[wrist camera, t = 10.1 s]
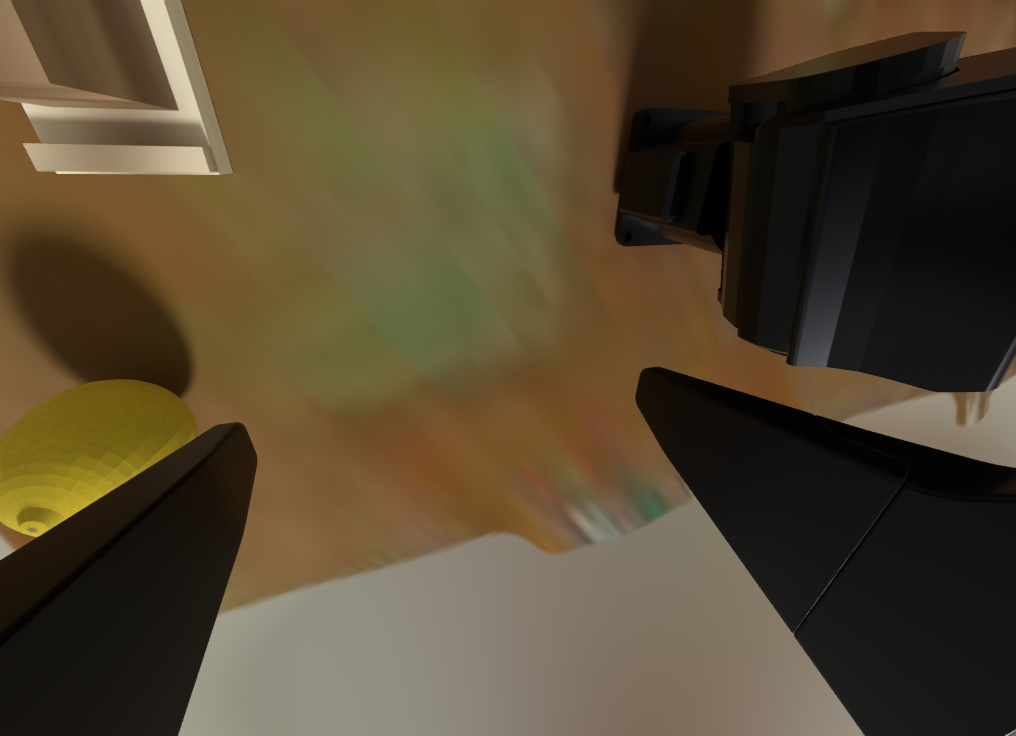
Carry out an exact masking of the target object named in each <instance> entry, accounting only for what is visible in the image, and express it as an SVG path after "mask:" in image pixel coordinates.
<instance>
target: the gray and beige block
mask: <svg viewBox="0 0 1016 736" xmlns="http://www.w3.org/2000/svg"><path fill="white" fill-rule="evenodd" d="M0 100H6V101H13V102H20V103H27V104H34V105H41V106H48V107H64V108H98V109H133V110H167V111H179V109H178V106H177V103H176V101H175V98H174V95H173V92H172V89H171V86H170V83H169V81H168V78H167V75H166V72H165V69H164V66H163V64H162V61H161V58H160V55H159V52H158V49H157V46H156V44H155V41H154V38H153V35H152V32H151V29H150V27H149V24H148V21H147V18H146V15H145V12H144V9H143V7H142V4H141V1H140V0H0Z"/></svg>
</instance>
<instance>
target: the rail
mask: <svg viewBox="0 0 1016 736" xmlns="http://www.w3.org/2000/svg"><path fill="white" fill-rule="evenodd" d="M140 1H141V4H142V7H143V9H144V12H145V15H146V18H147V21H148V24H149V27H150V29H151V32H152V35H153V38H154V41H155V44H156V46H157V49H158V52H159V55H160V58H161V61H162V64H163V66H164V69H165V72H166V75H167V78H168V81H169V83H170V86H171V89H172V92H173V95H174V98H175V101H176V103H177V106H178V109H179V111H167V110H133V109H98V108H64V107H48V106H41V105H34V104H27V103H21V104H22V106H23V108H24V110H25V112H26V114H27V116H28V117H29V119H30V121H31V123H32V125H33V127H34V129H35V131H36V133H37V135H38V137H39V139H40V141H41V143H42V144H33V143H23V145H24V147H25V149H26V151H27V153H28V154H29V156H30V158H31V160H32V162H33V164H34V166H35V168H36V170H37V171H56V173H57V174H203V175H220V174H229V173H233V171H232V167H231V164H230V161H229V158H228V154H227V151H226V148H225V144H224V141H223V138H222V134H221V131H220V128H219V125H218V121H217V118H216V115H215V111H214V108H213V105H212V101H211V98H210V95H209V92H208V88H207V85H206V82H205V78H204V75H203V72H202V69H201V65H200V62H199V59H198V55H197V52H196V49H195V45H194V42H193V39H192V36H191V32H190V29H189V26H188V22H187V19H186V16H185V12H184V9H183V6H182V3H181V0H140Z"/></svg>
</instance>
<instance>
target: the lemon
mask: <svg viewBox="0 0 1016 736" xmlns="http://www.w3.org/2000/svg"><path fill="white" fill-rule="evenodd" d="M195 438H197V427H196V423H195V419H194V416H193V414H192V412H191V411H190V409H189V407H188V406H187V405H186V404H185V403H184V402H183V401H182V400H181V399H180V398H179V397H178V396H177V395H175V394H174V393H172V392H171V391H169V390H167V389H165V388H163V387H160V386H158V385H156V384H152V383H148V382H144V381H139V380H128V379H112V380H102V381H95V382H90V383H86V384H83V385H80V386H77V387H74V388H71V389H68V390H65V391H63V392H60V393H58V394H56V395H54V396H52V397H50V398H48V399H47V400H45V401H44V402H42V403H41V404H39V405H38V406H36V407H35V408H33V409H32V410H30V411H29V412H27V413H26V414H24V415H23V416H22V417H21V418H19V419H18V420H17V421H16V422H15V423H14V424H13V425H12V426H11V427H10V428H9V429H8V431H7V432H6V433H5V434H4V436H3V437H2V438H1V440H0V521H1V522H2V523H3V524H5V525H6V526H8V527H10V528H12V529H14V530H16V531H19V532H21V533H24V534H28V535H31V536H36V537H38V536H40V535H42V534H43V533H45V532H46V531H48V530H50V529H51V528H53V527H54V526H56V525H58V524H59V523H61V522H62V521H64V520H66V519H67V518H69V517H70V516H72V515H74V514H75V513H77V512H78V511H80V510H82V509H83V508H85V507H86V506H88V505H90V504H91V503H93V502H94V501H96V500H98V499H99V498H101V497H102V496H104V495H106V494H107V493H109V492H110V491H112V490H113V489H115V488H117V487H118V486H120V485H121V484H123V483H125V482H126V481H128V480H129V479H131V478H133V477H134V476H136V475H137V474H139V473H141V472H142V471H144V470H145V469H147V468H149V467H150V466H152V465H153V464H155V463H157V462H158V461H160V460H161V459H163V458H165V457H166V456H168V455H169V454H171V453H173V452H174V451H176V450H177V449H179V448H181V447H182V446H184V445H185V444H187V443H189V442H190V441H192V440H193V439H195Z"/></svg>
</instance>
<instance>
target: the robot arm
mask: <svg viewBox="0 0 1016 736" xmlns="http://www.w3.org/2000/svg"><path fill="white" fill-rule="evenodd" d="M966 33H967V32H914V33H909V34H905V35H901V36H897V37H893V38H889V39H885V40H881V41H877V42H873V43H869V44H865V45H862V46H858V47H854V48H850V49H846V50H842V51H838V52H835V53H831V54H828V55H825V56H822V57H819V58H816V59H812V60H809V61H806V62H803V63H800V64H797V65H794V66H790V67H787V68H784V69H781V70H778V71H775V72H772V73H768V74H765V75H762V76H759V77H756V78H753V79H750V80H747V81H743V82H740V83H737V84H734V85H731V86H729V96H728V103H731V112H713V111H695V110H677V109H659V108H646V109H641V110H639V111H638V112H637V113H636V115H635V117H634V120H633V126H632V133H631V139H630V146H629V153H628V155H627V156H626V159H625V166H624V173H623V180H622V186H621V193H620V200H619V209H620V213H619V220H618V226H617V233H616V241H617V243H618V244H620V245H622V246H646V245H670V244H687V245H691V246H694V247H697V248H701V249H704V250H707V251H711V252H714V253H718V254H721V255H722V270H721V288H719V289H718V301H719V302H720V303H721V306H722V311H723V316H724V317H725V318H726V319H727V320H728V321H729V322H730V323H731V324H732V325H733V326H734V327H736V328H738V332H737V335H738V336H739V337H740V338H741V339H743V340H745V341H747V342H749V343H751V344H754V345H756V346H758V347H761V348H764V349H767V350H769V351H771V352H774V353H777V354H780V355H783V356H787V359H786V363H787V364H789V365H792V366H813V367H830V368H837V369H844V370H851V371H858V372H862V373H867V374H871V375H875V376H879V377H883V378H887V379H890V380H894V381H897V382H901V383H904V384H908V385H912V386H915V387H919V388H922V389H926V390H929V391H934V392H985V391H990V390H994V389H996V388H998V387H999V386H1000V384H1001V382H1002V380H1003V379H1004V377H1005V375H1006V374H1007V372H1008V370H1009V368H1010V367H1011V365H1012V363H1013V361H1014V360H1015V358H1016V47H1015V48H1010V49H1005V50H1000V51H995V52H990V53H985V54H980V55H975V56H970V57H965V58H960V59H959V55H960V52H961V49H962V46H963V43H964V40H965V36H966ZM644 116H646V118H647V122H646V124H645V125H644V126H643V124H642V119H643V117H644ZM626 233H628V237H627V239H626V240H624V238H623V237H624V235H625V234H626ZM635 399H636V404H637V406H638V408H639V410H640V411H641V413H642V415H643V417H644V418H645V420H646V422H647V424H648V425H649V427H650V429H651V431H652V432H653V434H654V436H655V438H656V440H657V441H658V443H659V445H660V446H661V448H662V450H663V451H664V453H665V454H666V456H667V457H668V459H669V460H670V462H671V463H672V465H673V466H674V467H675V469H676V470H677V472H678V473H679V474H680V476H681V477H682V479H683V480H684V482H685V483H686V484H687V486H688V487H689V489H690V490H691V491H692V493H693V494H694V496H695V497H696V498H697V500H698V501H699V503H700V504H701V505H702V507H703V508H704V510H705V511H706V512H707V514H708V515H709V517H710V518H711V520H712V521H713V522H714V524H715V525H716V527H717V528H718V529H719V531H720V532H721V534H722V535H723V536H724V538H725V539H726V541H727V542H728V543H729V545H730V546H731V548H732V549H733V550H734V552H735V553H736V555H737V556H738V558H739V559H740V560H741V562H742V563H743V565H744V566H745V567H746V569H747V570H748V572H749V573H750V574H751V576H752V577H753V579H754V580H755V581H756V583H757V584H758V586H759V587H760V588H761V590H762V591H763V593H764V594H765V596H766V597H767V598H768V600H769V601H770V603H771V604H772V605H773V606H774V608H775V610H776V611H777V612H778V613H779V615H780V616H781V618H782V619H783V621H784V622H785V624H786V625H787V626H788V628H789V629H790V631H791V632H792V633H794V637H795V638H796V639H797V641H798V642H799V644H800V645H801V647H802V648H803V649H804V651H805V652H806V654H807V655H808V656H809V658H810V659H811V661H812V662H813V664H814V665H815V666H816V668H817V669H818V671H819V672H820V673H821V675H822V676H823V678H824V679H825V680H826V682H827V683H828V684H829V686H830V688H831V689H832V690H833V692H834V693H835V695H836V696H837V697H838V699H839V700H840V702H841V703H842V704H843V706H844V707H845V709H846V710H847V711H848V713H849V714H850V716H851V717H852V718H853V720H854V721H855V723H856V724H857V726H858V727H859V728H860V730H861V731H862V733H863V734H864V735H865V736H1016V468H1013V467H1007V466H1001V465H996V464H991V463H987V462H982V461H979V460H975V459H971V458H968V457H964V456H960V455H957V454H953V453H949V452H945V451H941V450H938V449H934V448H930V447H926V446H923V445H919V444H915V443H912V442H908V441H904V440H901V439H897V438H893V437H890V436H886V435H883V434H879V433H876V432H872V431H868V430H864V429H861V428H858V427H854V426H851V425H848V424H845V423H841V422H838V421H834V420H831V419H828V418H825V417H821V416H818V415H815V416H814V415H813V414H811V413H808V412H805V411H802V410H798V409H795V408H792V407H789V406H785V405H782V404H779V403H776V402H772V401H769V400H766V399H763V398H759V397H756V396H753V395H750V394H746V393H743V392H740V391H736V390H733V389H730V388H727V387H723V386H720V385H717V384H714V383H710V382H707V381H704V380H701V379H697V378H694V377H691V376H688V375H684V374H681V373H678V372H675V371H671V370H668V369H665V368H661V367H651V368H645V369H643V370H642V371H641V373H640V377H639V381H638V386H637V391H636V396H635ZM256 468H257V455H256V452H255V449H254V447H253V444H252V442H251V439H250V437H249V434H248V432H247V430H246V428H245V426H244V425H243V424H242V423H240V422H234V423H227V424H219V425H216V426H214V427H213V428H211V429H209V430H208V431H206V432H205V433H203V434H201V435H200V436H198V437H197V438H195V439H193V440H192V441H190V442H189V443H187V444H185V445H184V446H182V447H181V448H179V449H177V450H176V451H174V452H173V453H171V454H169V455H168V456H166V457H165V458H163V459H161V460H160V461H158V462H157V463H155V464H153V465H152V466H150V467H149V468H147V469H145V470H144V471H142V472H141V473H139V474H137V475H136V476H134V477H133V478H131V479H129V480H128V481H126V482H125V483H123V484H121V485H120V486H118V487H117V488H115V489H113V490H112V491H110V492H109V493H107V494H106V495H104V496H102V497H101V498H99V499H98V500H96V501H94V502H93V503H91V504H90V505H88V506H86V507H85V508H83V509H82V510H80V511H78V512H77V513H75V514H74V515H72V516H70V517H69V518H67V519H66V520H64V521H62V522H61V523H59V524H58V525H56V526H54V527H53V528H51V529H50V530H48V531H46V532H45V533H43V534H42V535H40V536H38V537H37V538H35V539H34V540H32V541H30V542H29V543H27V544H26V545H24V546H22V547H21V548H19V549H18V550H16V551H14V552H13V553H11V554H10V555H8V556H6V557H5V558H3V559H2V560H0V736H178V734H179V731H180V728H181V725H182V722H183V719H184V715H185V713H186V709H187V706H188V703H189V700H190V697H191V694H192V691H193V688H194V685H195V682H196V679H197V676H198V672H199V670H200V667H201V664H202V660H203V657H204V654H205V651H206V648H207V645H208V642H209V639H210V636H211V633H212V630H213V627H214V624H215V621H216V618H217V615H218V611H219V608H220V605H221V602H222V599H223V596H224V593H225V590H226V587H227V584H228V581H229V578H230V575H231V572H232V569H233V565H234V562H235V559H236V556H237V553H238V550H239V547H240V544H241V540H242V537H243V534H244V529H245V525H246V520H247V515H248V510H249V504H250V499H251V494H252V489H253V484H254V479H255V473H256Z"/></svg>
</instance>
